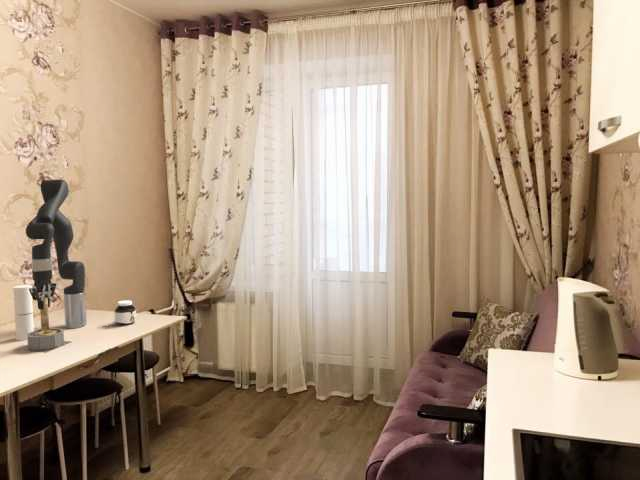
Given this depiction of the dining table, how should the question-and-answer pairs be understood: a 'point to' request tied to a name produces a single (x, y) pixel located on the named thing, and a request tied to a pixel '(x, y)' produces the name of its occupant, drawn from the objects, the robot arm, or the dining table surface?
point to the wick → (44, 316)
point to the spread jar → (125, 313)
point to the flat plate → (44, 350)
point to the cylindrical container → (23, 311)
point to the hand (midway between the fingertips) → (44, 308)
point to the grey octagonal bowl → (45, 339)
